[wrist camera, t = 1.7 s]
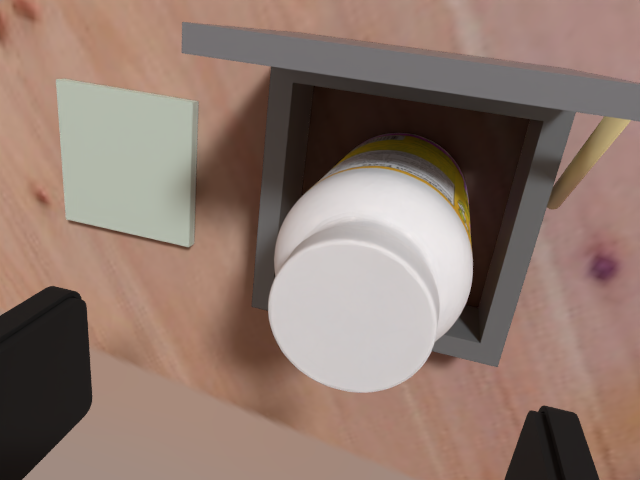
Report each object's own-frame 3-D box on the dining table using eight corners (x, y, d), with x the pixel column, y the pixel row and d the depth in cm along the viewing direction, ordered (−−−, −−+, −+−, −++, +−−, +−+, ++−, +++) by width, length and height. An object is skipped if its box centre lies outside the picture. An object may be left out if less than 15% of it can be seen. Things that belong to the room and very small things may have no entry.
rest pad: (198, 101, 26) (192, 102, 26) (193, 243, 29) (189, 247, 29) (63, 78, 28) (55, 79, 27) (73, 216, 31) (65, 219, 30)
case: (593, 72, 21) (707, 93, 11) (512, 333, 26) (542, 507, 16) (299, 32, 24) (182, 22, 14) (274, 278, 29) (175, 400, 19)
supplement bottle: (424, 281, 27) (394, 463, 15) (313, 219, 27) (201, 350, 15) (497, 171, 24) (531, 289, 12) (372, 103, 24) (289, 156, 13)
